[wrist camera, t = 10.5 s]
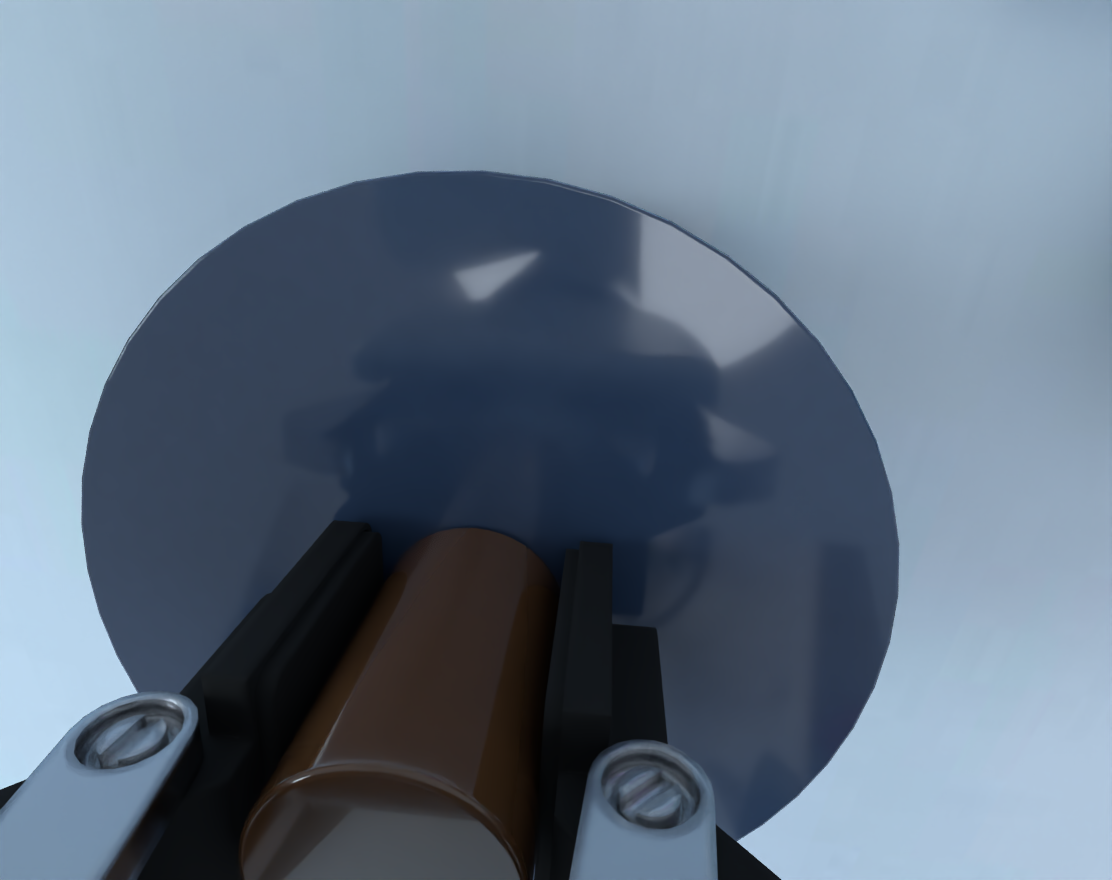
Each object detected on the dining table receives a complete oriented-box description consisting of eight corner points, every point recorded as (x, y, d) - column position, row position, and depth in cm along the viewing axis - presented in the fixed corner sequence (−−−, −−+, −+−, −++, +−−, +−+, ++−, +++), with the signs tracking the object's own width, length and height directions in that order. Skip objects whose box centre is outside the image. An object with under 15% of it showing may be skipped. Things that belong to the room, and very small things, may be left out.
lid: (-15, 527, 13) (-498, 786, 7) (499, -52, 9) (319, -431, 4) (478, 938, 16) (402, 1358, 10) (1033, 619, 12) (1409, 1005, 6)
